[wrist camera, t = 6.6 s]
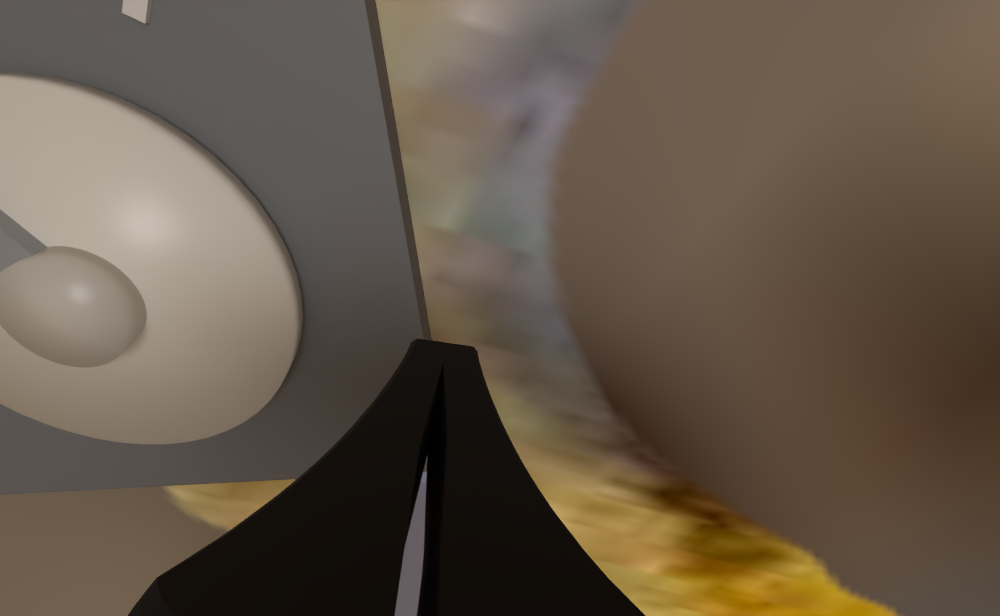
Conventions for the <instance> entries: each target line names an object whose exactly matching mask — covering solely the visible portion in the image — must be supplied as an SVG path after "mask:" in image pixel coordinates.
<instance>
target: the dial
mask: <svg viewBox="0 0 1000 616" xmlns="http://www.w3.org/2000/svg"><path fill="white" fill-rule="evenodd" d="M302 324H303V306H302V294H301V290H300V286H299V281H298V277H297V273H296V270H295V267H294V265H293V262H292V260H291V257H290V254H289V252H288V249H287V247H286V245H285V244H284V242H283V240H282V238H281V236H280V234H279V232H278V230H277V229H276V227H275V225H274V224H273V222H272V221H271V219H270V218H269V216H268V215H267V213H266V212H265V211H264V209H263V208H262V206H261V205H260V203H259V202H258V201H257V200H256V198H255V197H254V196H253V195H252V194H251V193H250V191H249V190H248V189H247V188H246V187H245V186H244V184H243V183H242V182H241V181H240V180H239V179H238V178H237V177H236V176H235V175H234V174H233V173H232V172H231V171H230V170H229V169H228V168H227V167H226V166H225V165H224V164H223V163H221V162H220V161H219V160H218V159H217V158H216V157H215V156H214V155H213V154H212V153H210V152H209V151H208V150H206V149H205V148H204V147H202V146H201V145H200V144H199V143H197V142H196V141H195V140H193V139H192V138H191V137H190V136H188V135H187V134H185V133H184V132H182V131H181V130H179V129H178V128H176V127H174V126H173V125H171V124H170V123H168V122H166V121H165V120H163V119H162V118H160V117H158V116H157V115H155V114H153V113H151V112H149V111H147V110H145V109H143V108H141V107H139V106H137V105H135V104H133V103H131V102H129V101H127V100H125V99H123V98H120V97H118V96H115V95H112V94H110V93H107V92H104V91H102V90H99V89H96V88H94V87H91V86H88V85H84V84H80V83H76V82H72V81H69V80H65V79H61V78H57V77H51V76H44V75H36V74H29V73H22V72H0V404H2V405H4V406H6V407H8V408H10V409H12V410H14V411H16V412H18V413H20V414H22V415H25V416H27V417H29V418H32V419H34V420H37V421H39V422H42V423H44V424H47V425H50V426H53V427H56V428H59V429H62V430H65V431H68V432H72V433H76V434H80V435H84V436H88V437H92V438H96V439H102V440H108V441H114V442H120V443H133V444H173V443H183V442H190V441H195V440H199V439H204V438H208V437H211V436H214V435H217V434H220V433H223V432H226V431H228V430H230V429H232V428H234V427H236V426H238V425H240V424H242V423H244V422H245V421H246V420H248V419H249V418H251V417H252V416H254V415H255V414H257V413H258V412H259V411H260V410H261V409H262V408H263V407H264V406H265V405H266V404H267V403H268V402H269V401H270V400H271V399H272V397H273V396H274V395H275V393H276V392H277V390H278V389H279V388H280V386H281V384H282V382H283V380H284V378H285V376H286V375H287V373H288V371H289V369H290V367H291V364H292V362H293V360H294V358H295V356H296V354H297V350H298V347H299V343H300V339H301V336H302Z"/></svg>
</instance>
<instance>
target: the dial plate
mask: <svg viewBox="0 0 1000 616" xmlns="http://www.w3.org/2000/svg"><path fill="white" fill-rule="evenodd" d="M0 72H22V73H29V74H36V75H44V76H51V77H57V78H61V79H65V80H69V81H72V82H76V83H80V84H84V85H88V86H91V87H94V88H96V89H99V90H102V91H104V92H107V93H110V94H112V95H115V96H118V97H120V98H123V99H125V100H127V101H129V102H131V103H133V104H135V105H137V106H139V107H141V108H143V109H145V110H147V111H149V112H151V113H153V114H155V115H157V116H158V117H160V118H162V119H163V120H165V121H166V122H168V123H170V124H171V125H173V126H174V127H176V128H178V129H179V130H181V131H182V132H184V133H185V134H187V135H188V136H190V137H191V138H192V139H193V140H195V141H196V142H197V143H199V144H200V145H201V146H202V147H204V148H205V149H206V150H208V151H209V152H210V153H212V154H213V155H214V156H215V157H216V158H217V159H218V160H219V161H220V162H221V163H223V164H224V165H225V166H226V167H227V168H228V169H229V170H230V171H231V172H232V173H233V174H234V175H235V176H236V177H237V178H238V179H239V180H240V181H241V182H242V183H243V184H244V186H245V187H246V188H247V189H248V190H249V191H250V193H251V194H252V195H253V196H254V197H255V198H256V200H257V201H258V202H259V203H260V205H261V206H262V208H263V209H264V211H265V212H266V213H267V215H268V216H269V218H270V219H271V221H272V222H273V224H274V225H275V227H276V229H277V230H278V232H279V234H280V236H281V238H282V240H283V242H284V244H285V245H286V247H287V249H288V252H289V254H290V257H291V260H292V262H293V265H294V267H295V270H296V273H297V277H298V281H299V286H300V290H301V294H302V306H303V324H302V336H301V339H300V343H299V347H298V350H297V354H296V356H295V358H294V360H293V362H292V364H291V367H290V369H289V371H288V373H287V375H286V376H285V378H284V380H283V382H282V384H281V386H280V388H279V389H278V390H277V392H276V393H275V395H274V396H273V397H272V399H271V400H270V401H269V402H268V403H267V404H266V405H265V406H264V407H263V408H262V409H261V410H260V411H259V412H258V413H257V414H255V415H254V416H252V417H251V418H249V419H248V420H246V421H245V422H244V423H242V424H240V425H238V426H236V427H234V428H232V429H230V430H228V431H226V432H223V433H220V434H217V435H214V436H211V437H208V438H204V439H199V440H195V441H190V442H183V443H173V444H133V443H120V442H114V441H108V440H102V439H96V438H92V437H88V436H84V435H80V434H76V433H72V432H68V431H65V430H62V429H59V428H56V427H53V426H50V425H47V424H44V423H42V422H39V421H37V420H34V419H32V418H29V417H27V416H25V415H22V414H20V413H18V412H16V411H14V410H12V409H10V408H8V407H6V406H4V405H2V404H0V495H5V494H22V493H39V492H41V493H42V492H60V491H78V490H96V489H114V488H134V487H153V486H172V485H190V484H209V483H227V482H246V481H264V480H283V479H298V478H299V477H300V476H301V475H302V474H303V473H304V472H306V471H307V470H308V469H309V468H310V467H311V466H312V465H314V464H315V463H316V462H317V461H318V460H319V459H320V458H321V457H322V456H323V455H324V454H325V453H326V452H327V451H328V450H329V449H331V448H332V447H333V446H334V445H335V444H336V443H337V442H338V441H339V440H340V439H341V437H342V436H343V435H344V434H345V433H346V432H347V431H348V430H349V429H350V428H351V427H352V426H353V425H354V423H355V422H356V421H357V420H358V419H359V418H360V416H361V415H362V414H363V413H364V412H365V411H366V409H367V408H368V407H369V406H370V405H371V404H372V402H373V401H374V400H375V399H376V397H377V396H378V395H379V393H380V392H381V391H382V389H383V388H384V386H385V385H386V384H387V382H388V381H389V380H390V378H391V377H392V376H393V374H394V372H395V371H396V369H397V368H398V366H399V365H400V363H401V362H402V360H403V358H404V356H405V354H406V353H407V351H408V349H409V346H410V344H411V342H412V341H414V340H415V339H424V340H431V335H430V329H429V323H428V317H427V311H426V305H425V299H424V293H423V287H422V281H421V275H420V269H419V263H418V257H417V251H416V245H415V239H414V232H413V226H412V220H411V214H410V208H409V202H408V196H407V190H406V184H405V178H404V172H403V166H402V160H401V154H400V148H399V142H398V136H397V130H396V124H395V118H394V112H393V105H392V99H391V93H390V87H389V81H388V75H387V69H386V63H385V57H384V51H383V45H382V39H381V33H380V27H379V21H378V15H377V9H376V3H375V0H0ZM423 472H427V458H426V462H425V466H424V470H423Z"/></svg>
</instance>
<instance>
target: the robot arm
mask: <svg viewBox="0 0 1000 616" xmlns="http://www.w3.org/2000/svg"><path fill="white" fill-rule="evenodd" d="M426 458H427V472H423V470H424V466H425V462H426ZM128 616H645V615H644V614H643V613H642V612H641V611H640V610H639V609H638V608H637V607H636V606H635V605H634V604H633V603H632V602H631V601H630V600H629V599H628V598H627V597H626V596H625V595H624V594H623V593H622V592H621V591H620V590H619V589H618V588H617V587H616V586H615V585H614V584H613V583H612V582H611V581H610V580H609V579H608V577H607V576H606V575H605V574H604V573H603V572H602V571H601V569H600V568H599V567H598V566H597V565H596V564H595V562H594V561H593V560H592V559H591V558H590V557H589V556H588V554H587V553H586V552H585V551H584V550H583V548H582V547H581V546H580V544H579V543H578V542H577V541H576V539H575V538H574V537H573V535H572V534H571V533H570V532H569V530H568V529H567V528H566V526H565V525H564V524H563V523H562V521H561V520H560V519H559V517H558V516H557V515H556V514H555V512H554V511H553V509H552V508H551V507H550V505H549V504H548V502H547V501H546V499H545V498H544V496H543V495H542V493H541V492H540V490H539V489H538V487H537V486H536V484H535V482H534V481H533V479H532V478H531V476H530V474H529V473H528V471H527V469H526V468H525V466H524V464H523V463H522V461H521V459H520V457H519V455H518V454H517V452H516V450H515V448H514V446H513V444H512V442H511V440H510V438H509V436H508V434H507V432H506V430H505V428H504V426H503V424H502V422H501V419H500V417H499V415H498V412H497V410H496V408H495V405H494V403H493V401H492V398H491V396H490V393H489V390H488V388H487V385H486V382H485V379H484V376H483V373H482V370H481V366H480V362H479V358H478V353H477V351H476V350H475V348H474V347H471V346H465V345H458V344H451V343H444V342H438V341H431V340H424V339H415V340H414V341H412V342H411V344H410V346H409V349H408V351H407V353H406V354H405V356H404V358H403V360H402V362H401V363H400V365H399V366H398V368H397V369H396V371H395V372H394V374H393V376H392V377H391V378H390V380H389V381H388V382H387V384H386V385H385V386H384V388H383V389H382V391H381V392H380V393H379V395H378V396H377V397H376V399H375V400H374V401H373V402H372V404H371V405H370V406H369V407H368V408H367V409H366V411H365V412H364V413H363V414H362V415H361V416H360V418H359V419H358V420H357V421H356V422H355V423H354V425H353V426H352V427H351V428H350V429H349V430H348V431H347V432H346V433H345V434H344V435H343V436H342V437H341V439H340V440H339V441H338V442H337V443H336V444H335V445H334V446H333V447H332V448H331V449H329V450H328V451H327V452H326V453H325V454H324V455H323V456H322V457H321V458H320V459H319V460H318V461H317V462H316V463H315V464H314V465H312V466H311V467H310V468H309V469H308V470H307V471H306V472H304V473H303V474H302V475H301V476H300V477H299V478H298V479H296V480H295V481H294V482H293V483H292V484H291V485H289V486H288V487H287V488H286V489H285V490H283V491H282V492H281V493H280V494H278V495H277V496H276V497H275V498H273V499H272V500H271V501H269V502H268V503H267V504H265V505H264V506H263V507H261V508H260V509H259V510H257V511H256V512H254V513H253V514H252V515H250V516H249V517H248V518H246V519H245V520H244V521H242V522H241V523H240V524H238V525H237V526H236V527H234V528H233V529H231V530H230V531H229V532H227V533H226V534H224V535H223V536H221V537H220V538H219V539H217V540H215V541H214V542H212V543H211V544H209V545H208V546H206V547H204V548H203V549H201V550H200V551H198V552H196V553H195V554H193V555H192V556H190V557H189V558H187V559H186V560H184V561H182V562H181V563H180V564H178V565H176V566H175V567H173V568H172V569H170V570H168V571H167V572H165V573H163V574H162V575H160V576H159V577H157V578H156V580H155V581H154V582H153V583H152V584H151V585H150V587H149V588H148V589H147V590H146V592H145V593H144V594H143V596H142V597H141V598H140V600H139V601H138V602H137V603H136V605H135V606H134V607H133V609H132V610H131V612H130V613H129V615H128Z"/></svg>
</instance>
